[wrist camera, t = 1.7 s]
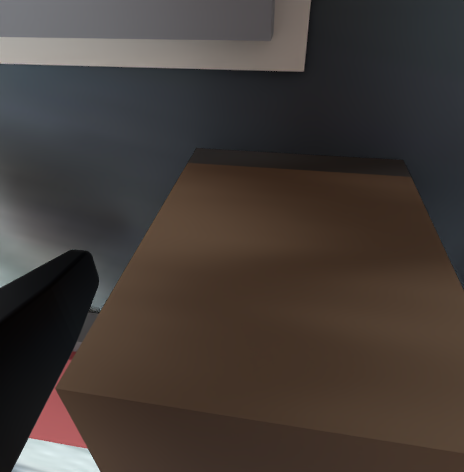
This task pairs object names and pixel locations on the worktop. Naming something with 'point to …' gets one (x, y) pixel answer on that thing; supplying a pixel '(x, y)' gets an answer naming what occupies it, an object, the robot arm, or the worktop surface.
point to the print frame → (156, 33)
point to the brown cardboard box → (278, 327)
